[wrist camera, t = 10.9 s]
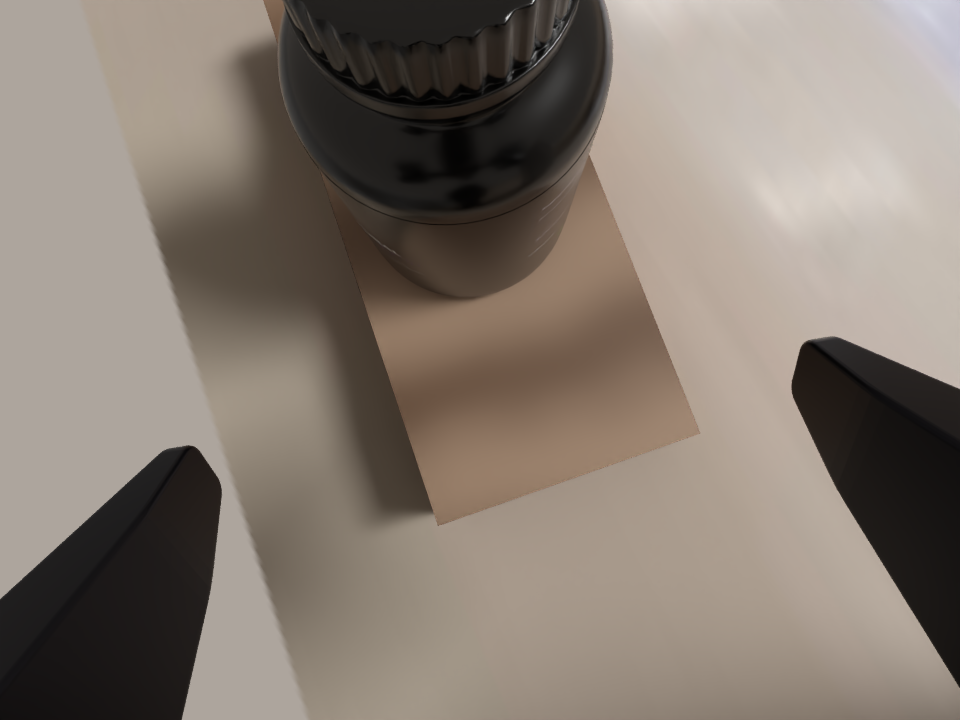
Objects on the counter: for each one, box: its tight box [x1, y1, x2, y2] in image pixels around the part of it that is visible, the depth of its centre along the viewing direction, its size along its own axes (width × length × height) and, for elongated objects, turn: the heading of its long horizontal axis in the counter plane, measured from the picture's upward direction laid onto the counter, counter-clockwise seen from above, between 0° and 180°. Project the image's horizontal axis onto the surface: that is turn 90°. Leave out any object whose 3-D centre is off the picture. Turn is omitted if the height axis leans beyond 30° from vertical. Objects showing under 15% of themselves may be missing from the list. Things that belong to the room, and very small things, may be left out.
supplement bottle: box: [277, 0, 613, 297], centre depth 14 cm, size 7×7×12 cm
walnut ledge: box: [263, 0, 700, 526], centre depth 21 cm, size 20×9×3 cm, turn 19°
